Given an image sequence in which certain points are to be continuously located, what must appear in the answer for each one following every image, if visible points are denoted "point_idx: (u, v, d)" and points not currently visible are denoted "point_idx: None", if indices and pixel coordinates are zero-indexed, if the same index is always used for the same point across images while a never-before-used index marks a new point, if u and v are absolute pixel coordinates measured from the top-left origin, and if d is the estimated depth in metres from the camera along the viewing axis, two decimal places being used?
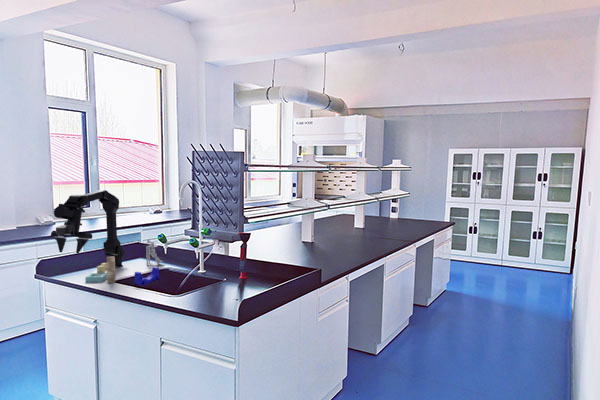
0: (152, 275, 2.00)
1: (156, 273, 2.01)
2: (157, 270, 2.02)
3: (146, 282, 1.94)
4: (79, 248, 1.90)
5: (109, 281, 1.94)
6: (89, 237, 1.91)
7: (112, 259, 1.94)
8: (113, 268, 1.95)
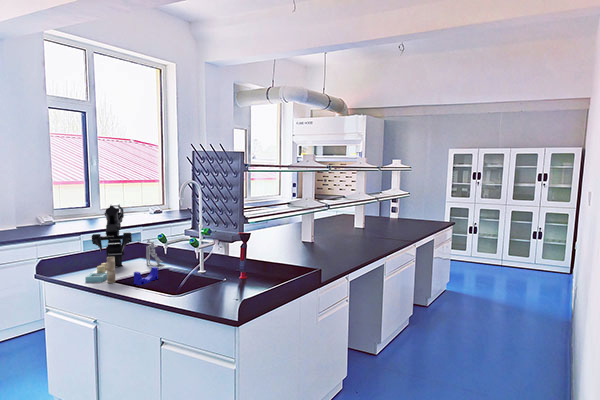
0: (151, 275, 2.01)
1: (155, 273, 2.02)
2: (156, 270, 2.02)
3: (145, 282, 1.95)
4: (123, 247, 2.06)
5: (109, 281, 1.94)
6: (131, 238, 2.11)
7: (112, 259, 1.94)
8: (113, 268, 1.95)
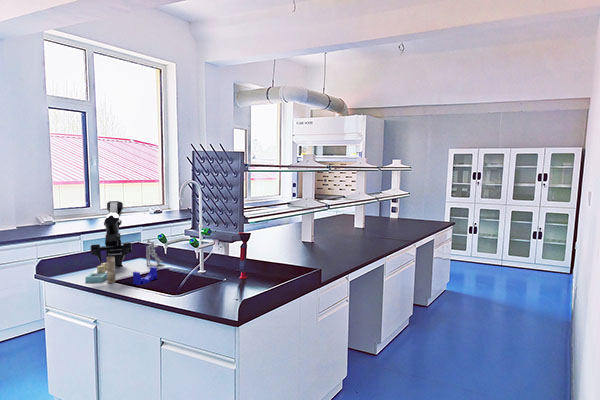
0: (150, 275, 2.01)
1: (154, 273, 2.02)
2: (155, 270, 2.02)
3: (144, 282, 1.95)
4: (123, 257, 2.00)
5: (109, 281, 1.94)
6: (131, 248, 2.06)
7: (112, 259, 1.94)
8: (113, 268, 1.95)
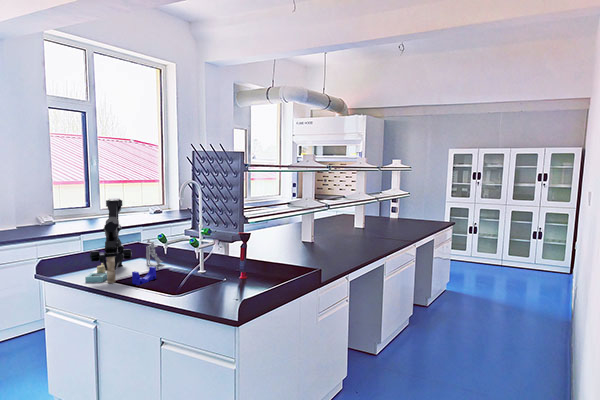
0: (149, 275, 2.01)
1: (153, 273, 2.02)
2: (154, 270, 2.03)
3: (144, 282, 1.95)
4: (117, 265, 1.97)
5: (109, 281, 1.94)
6: (131, 255, 2.03)
7: (112, 259, 1.94)
8: (113, 268, 1.95)
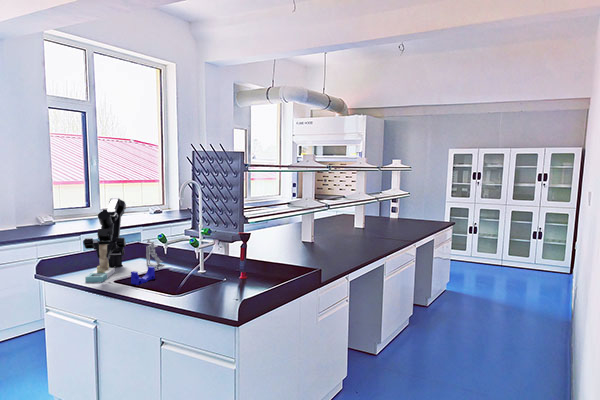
0: (148, 274, 2.01)
1: (152, 272, 2.02)
2: (153, 270, 2.03)
3: (142, 281, 1.95)
4: (109, 252, 1.97)
5: (101, 269, 1.95)
6: (125, 243, 2.03)
7: (104, 247, 1.94)
8: (105, 256, 1.95)
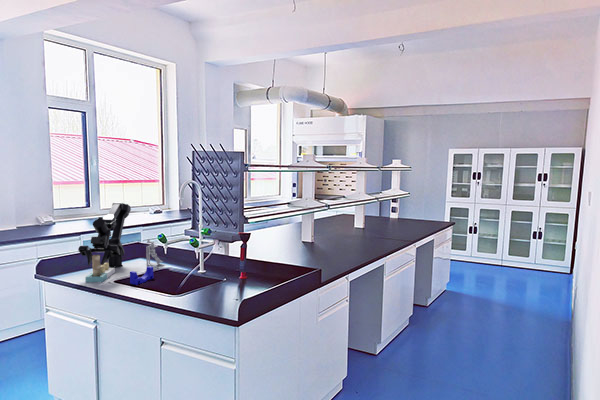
0: (147, 274, 2.02)
1: (151, 272, 2.02)
2: (152, 269, 2.03)
3: (141, 281, 1.96)
4: (104, 260, 1.99)
5: None
6: (118, 251, 2.04)
7: (96, 257, 1.97)
8: (97, 266, 1.98)
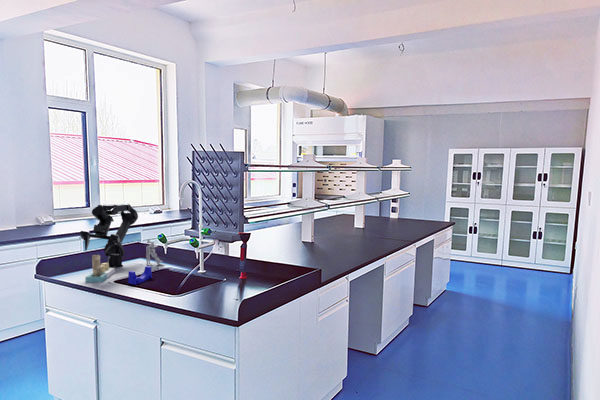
0: (145, 274, 2.02)
1: (149, 272, 2.03)
2: (150, 269, 2.03)
3: (140, 281, 1.96)
4: (107, 248, 2.07)
5: None
6: (118, 241, 2.11)
7: (96, 257, 1.97)
8: (97, 266, 1.98)
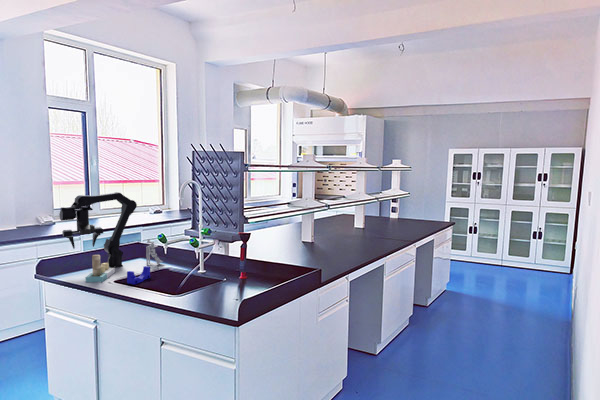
0: (144, 274, 2.02)
1: (147, 272, 2.03)
2: (149, 269, 2.04)
3: (139, 281, 1.96)
4: None
5: None
6: None
7: (96, 257, 1.97)
8: (97, 266, 1.98)
